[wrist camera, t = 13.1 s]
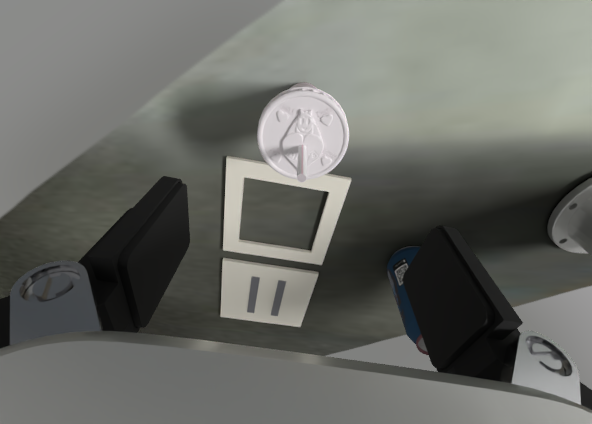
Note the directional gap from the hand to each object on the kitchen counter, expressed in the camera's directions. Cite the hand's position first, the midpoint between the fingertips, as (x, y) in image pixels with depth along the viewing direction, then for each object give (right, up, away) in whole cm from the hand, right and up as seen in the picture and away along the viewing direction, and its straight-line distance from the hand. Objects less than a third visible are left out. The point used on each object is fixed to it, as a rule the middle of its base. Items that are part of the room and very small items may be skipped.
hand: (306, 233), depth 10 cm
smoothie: (0, +12, +16) cm, 20 cm away
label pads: (-4, -6, +29) cm, 29 cm away
